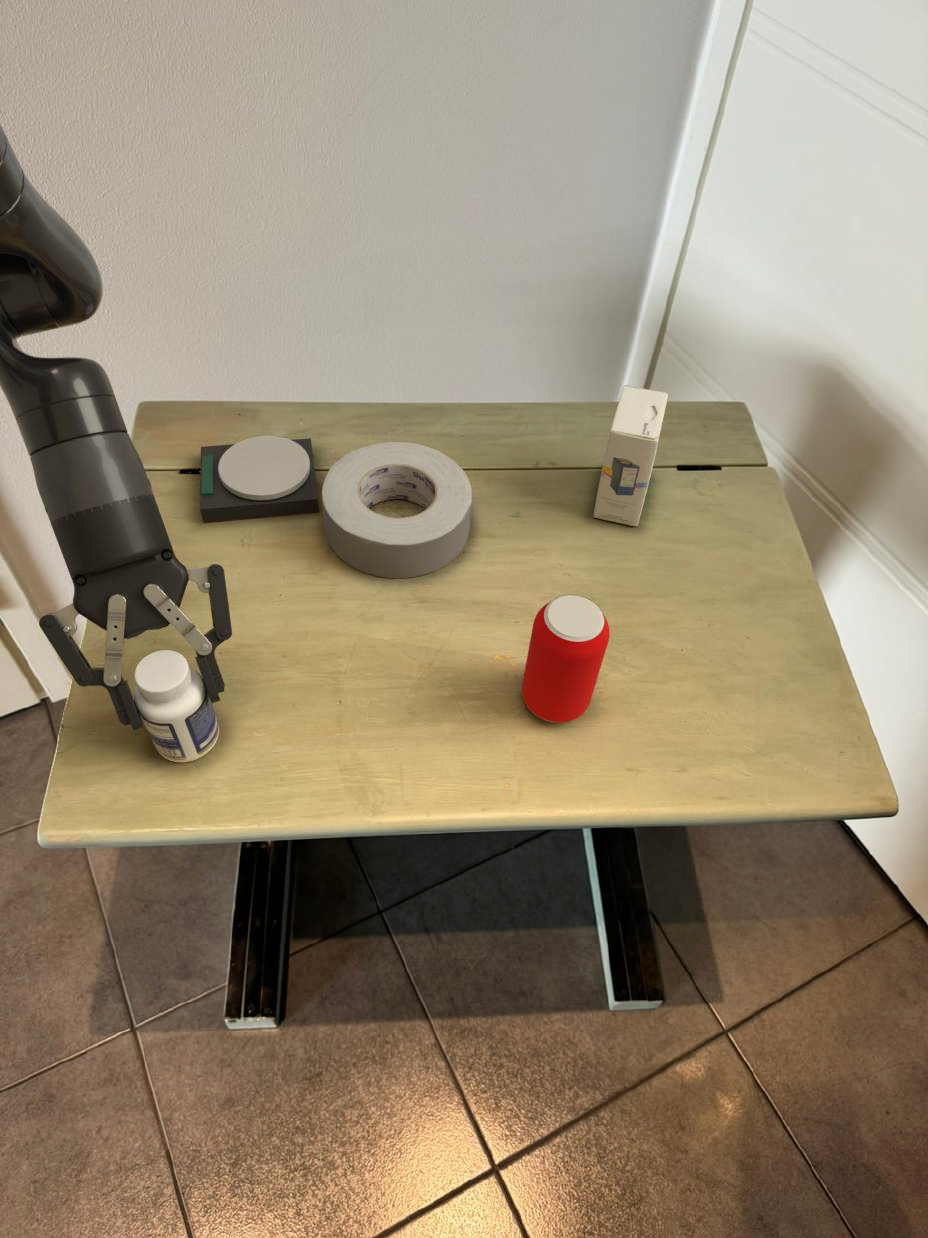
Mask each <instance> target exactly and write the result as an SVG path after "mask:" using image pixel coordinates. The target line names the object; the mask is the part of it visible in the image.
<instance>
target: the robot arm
mask: <svg viewBox="0 0 928 1238" xmlns="http://www.w3.org/2000/svg"><path fill="white" fill-rule="evenodd" d="M103 293H104V285H103V279H102V275H101V272H100V269H99V267H98V264H97V262H96V260H95V258H94V256H93V254H92V252H91V251H90V249H89V248H88V246H87V245H86V243H85V242H84V240H83V239H82V238H81V237H80V235H79V234H78V233H77V232H76V230H75V229H74V228H72V226H71V225H70V224H69V223H68V221H66V220H65V219H64V217H62V215H60V214H59V213H58V211H56V210H55V208H53V206H51V205H50V203H48V202H47V200H46V199H45V198H44V197H43V196H42V195H41V194H40V193H39V191H38V190H37V189H36V187H34V185H33V184H32V183H31V181H30V180H29V178H28V177H27V175H26V174H25V171H24V169H23V168H22V166H21V163H20V161H19V159H18V157H17V155H16V153H15V151H14V148H13V147H12V144H11V142H10V141H9V139H8V136H7V134H6V132H5V130H4V127H3V126H2V125H1V123H0V388H1V391H2V392H3V395H4V396H5V399H6V400H7V402H8V404H9V406H10V409H11V411H12V414H13V417H14V419H15V421H16V424H17V427H18V430H19V432H20V435H21V437H22V440H23V444H24V446H25V448H26V452H27V454H28V456H29V459H30V462H31V466H32V470H33V475H34V479H35V484H36V488H37V491H38V493H39V497H40V500H41V501H42V504H43V507H44V510H45V513H46V515H47V517H48V520H49V522H50V525H51V528H52V532H53V533H54V536H55V539H56V542H57V544H58V546H59V550H60V552H61V555H62V558H63V560H64V563H65V566H66V568H67V570H68V573H69V576H70V578H71V582H72V585H73V591H74V592H73V597H72V603H70V604H68V605H67V606H65V607H63V608H61V609H59V610H57V611H55V612H49V613H47V614H45V615H42V616H41V618H40V619H38V620H39V621H38V625H39V628H40V630H41V631H42V632H43V634H44V636H45V637H46V639H47V640H48V641H49V643H50V644H51V646H52V648H53V649H54V651H55V652H56V653H57V655H58V657H59V658H60V660H61V662H62V663H63V665H64V666H65V668H66V669H67V671H68V673H69V674H70V675H71V677H72V678H73V680H74V682H75V683H76V685H78V686H79V687H82V688H83V687H84V688H85V687H94V686H95V687H103V688H104V689H106V690H107V692H108V695H109V698H110V699H111V702H112V705H113V708H114V710H115V713H116V715H117V718H118V721H119V722H120V724H122V725H123V727H127V726H129V725H130V726H131V728H132V731H133V732H135V731H138V730H141V729H143V728H144V722H143V720H142V718H141V715H140V713H139V712H138V709H137V707H136V704H135V700H134V694H133V693H132V691H131V688H130V684H129V682H128V680H127V679H124V676H123V662H124V661H123V660H124V649H125V640H131V639H134V638H136V637H139V636H140V635H142V634H143V633H145V632H148V631H153V630H154V631H155V630H161V629H164V628H167V627H169V626H170V625H171V626H172V627H173V628H174V629H175V630H176V632H178V634H180V635H181V637H182V638H183V639H185V641H186V642H187V643H188V644H189V645H190V646H191V647H192V649H194V651H195V654H196V656H194V658H195V662H196V665H197V667H198V670H199V674H200V675H201V677H202V679H203V681H204V684H205V687H206V690H207V692H208V695H209V698H210V701H211V704H214V703H217V702H220V701H221V698H220V693H223V692H225V688H226V687H225V682H224V678H223V675H222V673H221V670H220V668H219V664H218V661H217V659H216V656H215V652H216V650H217V648H218V647H219V646H220V645H221V644H222V643H224V642H225V641H228V640H230V639H231V637H232V636H233V627H232V621H231V620H232V619H231V611H230V605H229V597H228V591H227V590H228V589H227V583H226V575H225V574H226V573H225V569H224V567H223V566H222V565H221V564H219V563H212V564H211V563H210V565H207V566H200V567H190V568H189V567H188V568H187V567H186V566H185V565H184V564H183V562H181V561H180V560H179V559H178V558H177V556H176V553H175V551H174V547H173V545H172V543H171V540H170V538H169V537H170V536H169V534H168V532H167V528H166V525H165V523H164V520H163V517H162V514H161V512H160V509H159V506H158V503H157V501H156V498H155V494H154V491H153V489H152V483H151V481H150V479H149V477H148V475H147V472H146V469H145V466H144V464H143V462H142V459H141V457H140V455H139V453H138V451H137V449H136V447H135V445H134V443H133V441H132V439H131V437H130V434H129V433H128V428H127V426H126V423H125V420H124V418H123V415H122V412H121V409H120V407H119V404H118V400H117V398H116V395H115V392H114V389H113V386H112V383H111V380H110V378H109V376H108V373H107V372H106V370H105V369H104V368H103V366H102V365H101V364H100V363H99V362H98V361H96V360H94V359H91V358H86V357H76V356H64V357H63V356H62V357H58V356H57V357H47V356H46V357H45V356H44V357H43V356H35V355H32V354H28V353H27V352H24V351H23V349H22V348H21V346H20V345H19V343H18V341H17V339H19V338H22V337H27V336H31V335H35V334H40V333H45V332H48V331H53V330H57V329H61V328H62V329H63V328H66V327H71V326H74V325H78V324H81V323H84V322H86V321H88V320H89V319H91V318H92V317H93V316H94V315H95V314H96V313H97V311H98V310H99V309H100V306H101V303H102V299H103ZM189 581H192V582H194V583H195V584H196V585H197V589H198V590H199V592H201V593H203V594H208V597H209V598H208V600H209V605H210V613H211V620H212V628H211V629H209V630H208V631H207V632H206V633H204V634H203V633H202V631H200V630H199V628H198V627H197V626H196V625H195V624H194V623H193V622H192V620H191V619H189V618H188V616H186V614H185V613H184V612H183V611H182V610H181V606H182V605H181V604H182V602H183V598H184V596H185V593H186V590H187V588H188V587H187V586H188V584H189ZM79 615H80V616H82V617H83V618H85V619H87V620H88V621H90V622H91V623H93V624H94V625H96V626H97V627H99V628H101V629H102V630H104V631H105V633H106V635H105V647H104V648H105V649H104V664H103V665H104V666H103V667H92V665H91V664H90V663H89V661H88V659H87V658H86V656H85V655H84V653H83V651H82V650H81V648H80V647H79V645H78V643H76V640H75V639H74V638H73V636H74V635H75V634H76V632H77V631H78V625H77V623H76V620H77V619H76V618H77V617H78V616H79Z"/></svg>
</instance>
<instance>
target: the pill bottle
mask: <svg viewBox="0 0 928 1238" xmlns="http://www.w3.org/2000/svg"><path fill="white" fill-rule="evenodd" d="M133 676H134V682H135V684H136V685H135V688H134V694H133V698H134V701H135V704H136V707H137V709H138V712H139V714H140V717H141V720H142V723H143V725H144V726H145V729H146V731H147V732H148V735H149V737H150V739H151V741H152V743H153V745H154V748H155V749H156V750H157V752H158V753H159V755H161V756H162V757H163V758H164V759H167V760H168V761H171V762H174V763H189V762H192V761H196V760H198V759H200V758H202V757H203V756H205V755H206V754H208V753H209V751H211V750H212V749H213V748H214V746H215V745H216V743H217V741H218V739H219V735H220V727H219V726H220V725H219V722H218V718H217V715H216V712H215V710H214V707H213V703H211V700H210V698H209V695H208V692H207V690H206V687H205V684H204V681H203V678H202V676H201V673H200V671H198V670H197V669H196V668H194V667H192V666H191V665H189V663H188V661H187V659H186V658H185V656H184V655H183V654H181V653H180V652H178V651H176V650H171V649H161V650H156V651H153V652H151V653H149V654H147V655H146V656H144V657H143V658H142V659H141V660H140V661H139V662H138V663H137V665H136V667H135V669H134V674H133Z"/></svg>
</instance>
